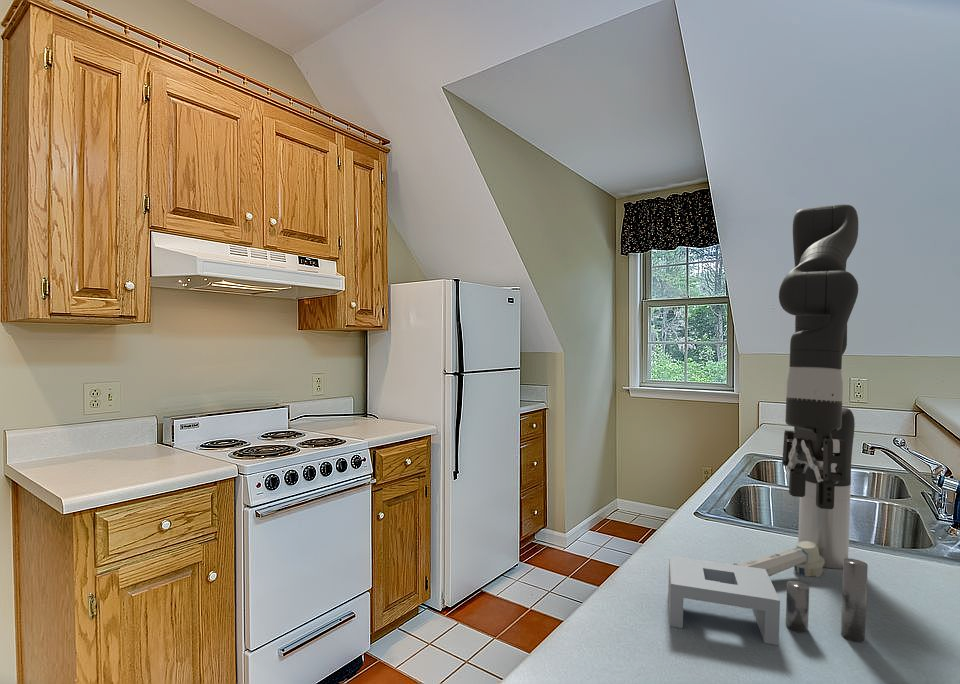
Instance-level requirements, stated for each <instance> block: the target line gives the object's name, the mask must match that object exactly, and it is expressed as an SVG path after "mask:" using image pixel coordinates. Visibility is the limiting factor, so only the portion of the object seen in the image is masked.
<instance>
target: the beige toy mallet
mask: <svg viewBox="0 0 960 684" xmlns="http://www.w3.org/2000/svg"><path fill="white" fill-rule="evenodd" d="M824 563H825V561H824V558H823V557H822V556H820V555H819V550H818V547H817V545H816V544H815V543H813V542H809V541H802V542H799V543H797V544H796V545H795V548H790V549H787V550H783V551H780V552H776V553H773V554H770V555H766V556H762V557H759V558H755V559H752V560H749V561H744V562H741V563H738V562H734V563H733V564H732V565H739V566H746V567H754V568H761V569H766V571H767V573H768V576H769V577H771V576H773V575H776V574H779V573H782V572H784V571H787V570H789V569H791V568H793V571H794V572H795V573H796V574H798V575H800V576H802V577H807V578H809V577H816V578H818V577H820V576H822V573H823V572H824V567H823V565H824ZM721 583H724V582H721ZM728 584H731V583H728Z"/></svg>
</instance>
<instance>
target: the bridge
mask: <svg viewBox="0 0 960 684" xmlns="http://www.w3.org/2000/svg"><path fill="white" fill-rule="evenodd" d="M668 561H669V562H668V585H667V586H668V590H667V591H668V597H667V598H668V616H669V618H668V619H669V620H668V621H669V626H670V627H673V628H679V629H683V627H684V599H686V600H687V599H688V600H695V601H700V602H706V603H713V604H719V605H726V606H732V607H737V608H744V609H749V610H752V612H753V615H754V617H755V619H756V622H757V626H758V628H759V631H760V635H761V638H762V640H763V643H764V644H768V645H770V644H771V645H775V646H779V644H780V643H779V641H780V617H781V616H780V615H781V611H780V610H781V600H780V598H779V595H778V593H777V591H776V589H775V587H774V584H773V583H772V580H771V578H770V576H768V573H767V571H766V569H761V568H754V567H746V566H739V565H733V564H730V563H726V562H725V563H723V562H716V561H710V560H702V559H695V558H688V557H682V556H676V555H675V556H673V555H669V557H668ZM721 582H724V583H721ZM728 583H731V584H728Z"/></svg>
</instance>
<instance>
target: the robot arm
mask: <svg viewBox="0 0 960 684" xmlns="http://www.w3.org/2000/svg"><path fill="white" fill-rule="evenodd" d="M858 237H859V216H858V212H857V210H856V208H855V207H854V206H852V205H850V204H833V205H831V204H830V205H825V206H824V205H821V206H814V207H813V206H812V207H806V208H801V209H798V210H797V211H796V212H795V213H794V215H793V220H792V246H793V247H792V248H793V258H794V260H793V261H794V267H793V268H792V269H791V270H790V271H789V272H788V273H787V274H786V275H785V277H784V278H783V280H782V282H781V284H780V287H779V290H778V300H779V305H780V306H781V308H782V310H783V311H785V313H788V314H790V315H791V316H795V320H794V321H795V322H794V326H795V327H794V333H793V334H792V335H791V337H790V344H789V345H790V346H789V369H788V374H787V380H786V396H785V397H786V398H785V399H786V402H785V424H786V425H787V426H790V427H793V430H784V432H783V434H784V435H783V448H782V460H781V461H782V462H781V463H782V466H784V467H786V470H787V472H789V479H788V480H789V481H788V484H789V485H788V494H789V495H790V496H792V497H798V498H799V509H798V511H799V512H798V539H797V540H798V541H797V542H798V543H799V542H802V541H809V542H813V543H815V544H816V545H817V547H818V550H819V555H820V556H822V557H823V558H824V561H825V563H824V565H823V568H829V569H843V561H844V559H847V558H849V547H850V525H851V524H850V521H851V519H850V515H851V488H852V460H853V459H852V458H853V457H852V456H853V447H854V446H853V444H854V437H855V424H856V423H855V416H854V413H853V411H852V409H849V408H847V407H843V397H844V396H843V395H844V394H843V392H844V386H843V385H844V382H843V376H842V365H843V363H842V362H843V360H842V359H843V355H844V354H845V352H846V349H847V345H848V322H849V320H850V317H851V315H852V312H853V309H854V307H855V304H856V301H857V299H858V294H859V283H858V281H857V279H856V277H855V276H854V275H853V273H851V272H849V271H847V260H848V259H849V257H850V255H851V254H852V253H853V250H854V248H855V246H856V243H857V241H858ZM798 543H797V544H798Z"/></svg>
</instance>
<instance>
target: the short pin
mask: <svg viewBox="0 0 960 684" xmlns="http://www.w3.org/2000/svg"><path fill="white" fill-rule="evenodd" d="M785 601H786V604H785V627H786V628H787V629H788V630H790V631H793V632H796V633H800V634H801V633H802V634H804V633H808V631H809V609H810V586H809V585H808V584H806V583H804V582H801V581H797V580H788V581H787V582H786V600H785Z"/></svg>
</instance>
